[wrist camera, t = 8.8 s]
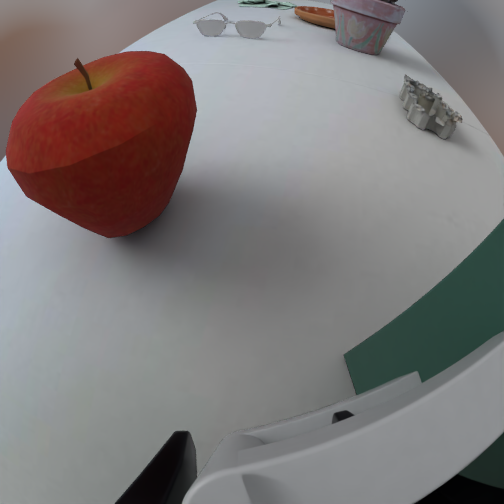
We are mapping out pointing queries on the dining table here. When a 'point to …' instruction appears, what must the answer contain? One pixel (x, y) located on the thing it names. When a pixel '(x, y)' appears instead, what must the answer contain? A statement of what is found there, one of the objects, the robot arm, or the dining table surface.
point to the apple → (105, 141)
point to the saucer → (316, 15)
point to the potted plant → (365, 23)
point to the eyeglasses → (243, 27)
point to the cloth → (266, 4)
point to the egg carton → (428, 109)
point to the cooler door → (390, 409)
